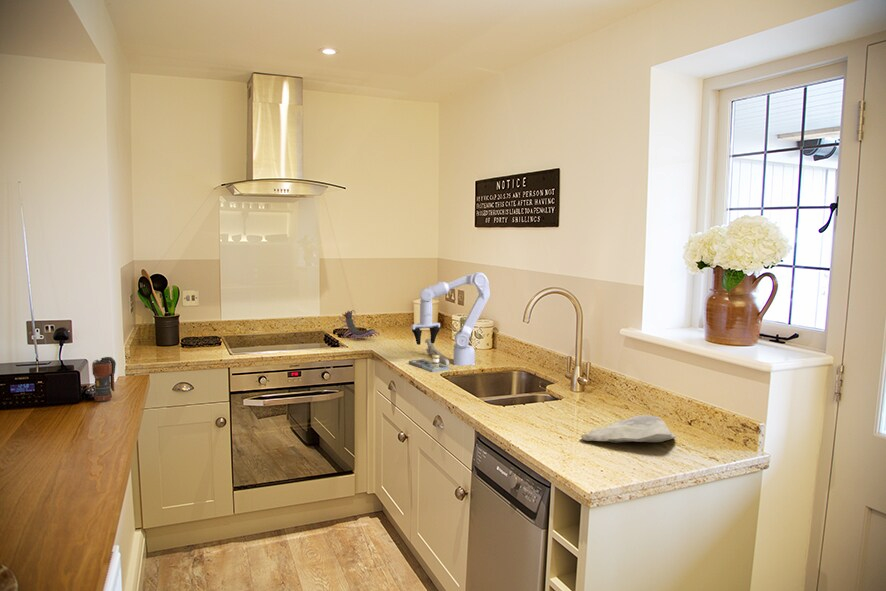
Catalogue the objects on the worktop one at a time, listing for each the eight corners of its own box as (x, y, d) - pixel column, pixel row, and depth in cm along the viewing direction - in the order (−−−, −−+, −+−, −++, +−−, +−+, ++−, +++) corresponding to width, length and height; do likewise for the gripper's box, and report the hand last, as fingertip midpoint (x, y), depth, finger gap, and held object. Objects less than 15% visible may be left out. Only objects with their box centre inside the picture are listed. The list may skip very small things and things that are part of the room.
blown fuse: (436, 368, 271) (436, 354, 270) (440, 370, 269) (440, 355, 268) (430, 369, 269) (430, 355, 269) (434, 370, 267) (434, 356, 266)
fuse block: (423, 363, 283) (423, 358, 283) (435, 367, 275) (435, 363, 274) (408, 365, 279) (408, 360, 278) (420, 369, 270) (420, 365, 270)
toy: (352, 331, 356) (355, 307, 353) (379, 347, 339) (383, 321, 336) (334, 333, 348) (337, 309, 344) (361, 349, 331) (365, 324, 327)
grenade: (120, 398, 215) (119, 357, 214) (99, 403, 209) (97, 361, 207) (111, 396, 218) (109, 355, 217) (89, 401, 212) (87, 358, 210)
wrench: (445, 372, 278) (424, 352, 305) (449, 372, 279) (427, 352, 306) (446, 356, 276) (425, 337, 304) (450, 356, 277) (428, 337, 304)
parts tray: (438, 367, 275) (438, 363, 275) (449, 371, 268) (449, 367, 267) (421, 369, 270) (421, 365, 270) (432, 373, 263) (432, 369, 262)
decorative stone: (695, 423, 174) (596, 435, 170) (698, 447, 174) (598, 460, 170) (649, 408, 202) (563, 418, 198) (651, 429, 202) (565, 440, 198)
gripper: (434, 312, 285) (434, 340, 286) (408, 314, 277) (407, 343, 278) (443, 314, 279) (442, 343, 280) (415, 316, 271) (415, 346, 272)
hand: (425, 343), depth 279 cm, fingers open, 7 cm apart
